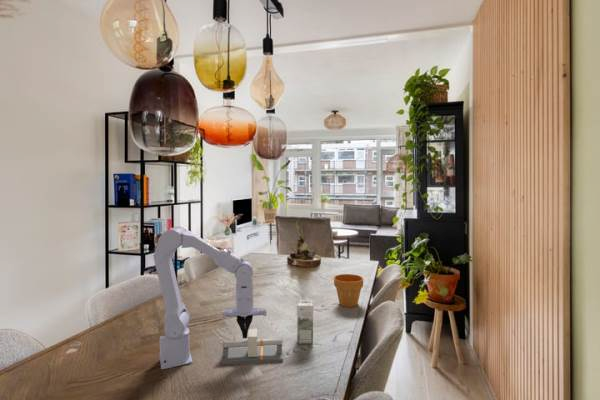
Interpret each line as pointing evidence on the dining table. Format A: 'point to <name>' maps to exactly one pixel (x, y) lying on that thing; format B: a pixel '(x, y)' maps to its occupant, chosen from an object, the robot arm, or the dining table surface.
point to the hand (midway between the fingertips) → (245, 337)
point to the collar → (252, 343)
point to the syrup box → (305, 322)
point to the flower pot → (348, 289)
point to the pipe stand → (241, 354)
